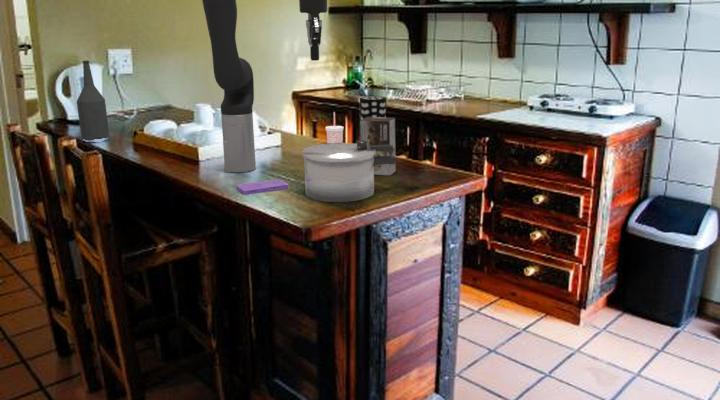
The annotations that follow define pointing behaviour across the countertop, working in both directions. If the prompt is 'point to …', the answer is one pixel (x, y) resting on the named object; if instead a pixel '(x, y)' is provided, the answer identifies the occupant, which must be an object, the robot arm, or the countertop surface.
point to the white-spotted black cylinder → (372, 108)
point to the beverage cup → (334, 133)
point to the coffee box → (380, 139)
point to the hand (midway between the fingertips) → (314, 60)
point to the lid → (343, 152)
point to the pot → (342, 179)
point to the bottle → (91, 109)
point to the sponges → (262, 187)
